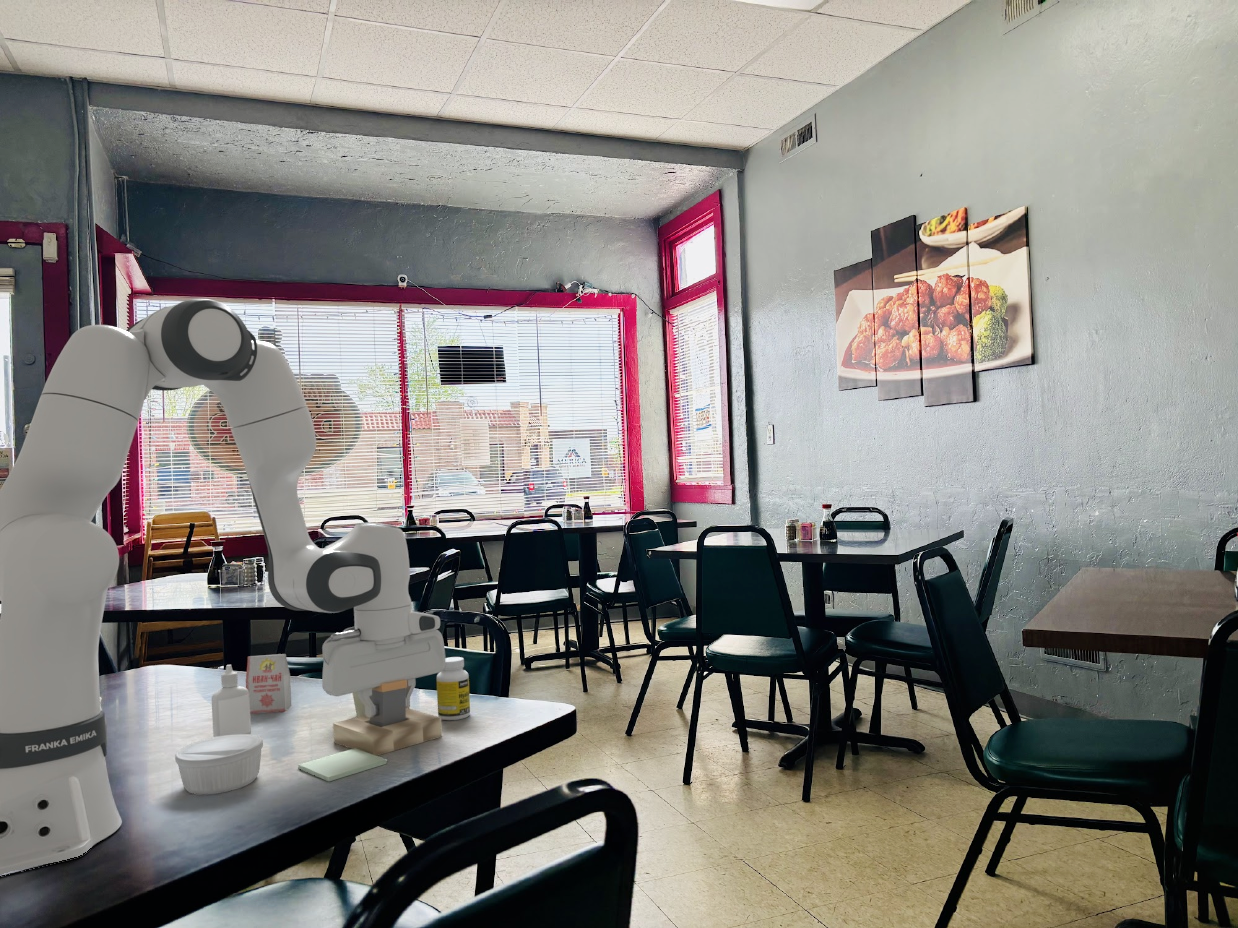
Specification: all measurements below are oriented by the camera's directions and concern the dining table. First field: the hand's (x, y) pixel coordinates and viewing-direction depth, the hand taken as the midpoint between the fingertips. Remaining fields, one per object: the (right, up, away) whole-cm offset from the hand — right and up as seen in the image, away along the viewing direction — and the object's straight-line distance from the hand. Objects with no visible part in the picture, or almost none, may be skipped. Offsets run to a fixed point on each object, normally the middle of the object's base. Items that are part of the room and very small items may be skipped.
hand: (388, 711), depth 141 cm
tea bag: (-28, -6, +23) cm, 36 cm away
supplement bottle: (+8, -4, +11) cm, 15 cm away
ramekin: (-19, -6, -17) cm, 26 cm away
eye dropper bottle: (-27, -6, +5) cm, 28 cm away
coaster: (-3, -4, -12) cm, 13 cm away
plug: (0, -4, 0) cm, 4 cm away
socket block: (0, -4, 0) cm, 4 cm away
